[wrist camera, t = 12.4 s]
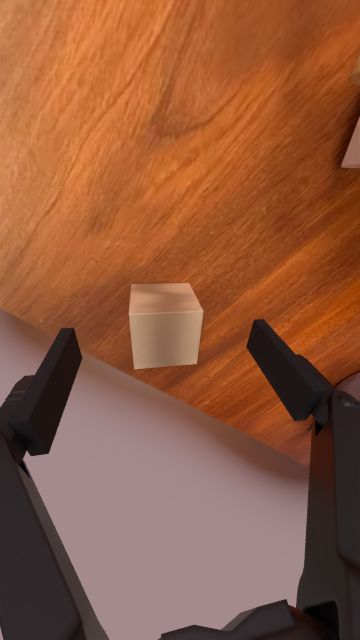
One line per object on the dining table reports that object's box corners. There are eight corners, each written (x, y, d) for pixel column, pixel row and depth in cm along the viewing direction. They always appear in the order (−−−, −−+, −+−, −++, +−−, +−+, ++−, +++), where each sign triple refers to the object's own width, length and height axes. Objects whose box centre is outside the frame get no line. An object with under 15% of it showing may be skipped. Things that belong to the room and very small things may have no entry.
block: (135, 331, 20) (134, 369, 16) (131, 283, 17) (128, 314, 13) (185, 328, 21) (197, 364, 17) (189, 282, 18) (203, 311, 14)
